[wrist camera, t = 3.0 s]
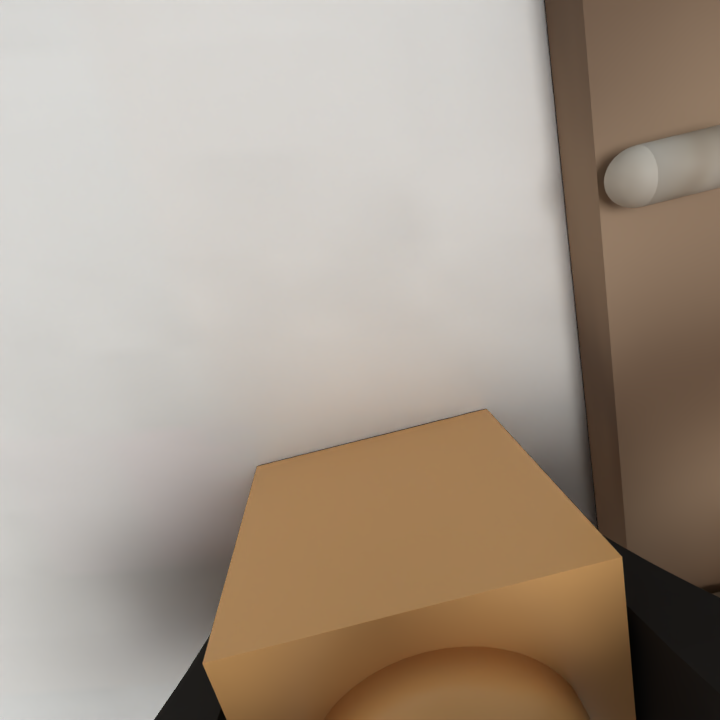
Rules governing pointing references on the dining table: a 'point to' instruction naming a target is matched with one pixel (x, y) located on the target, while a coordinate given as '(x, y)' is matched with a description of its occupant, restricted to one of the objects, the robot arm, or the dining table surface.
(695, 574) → the junction board
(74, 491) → the dining table surface
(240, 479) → the dining table surface
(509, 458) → the cube with round boss
